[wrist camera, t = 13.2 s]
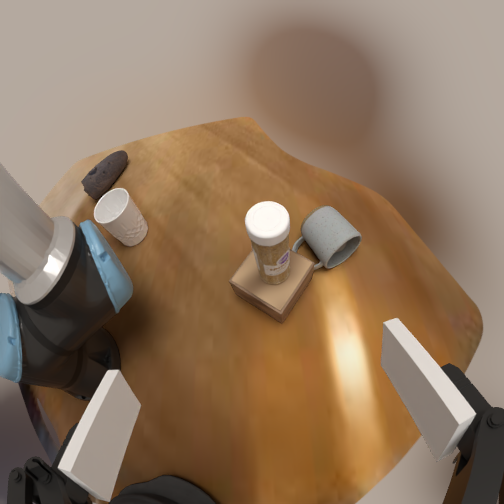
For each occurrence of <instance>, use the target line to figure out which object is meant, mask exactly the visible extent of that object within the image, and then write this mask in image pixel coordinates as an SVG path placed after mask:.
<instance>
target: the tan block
mask: <svg viewBox="0 0 504 504" xmlns="http://www.w3.org/2000/svg"><path fill="white" fill-rule="evenodd" d="M289 251H290V262H289V265H290V273H289V276H288V278H287V279H286V280H285V281H284V282H282V283H280V284H268V283H266V282H264V281H263V280H262V279H261V277H260V275H259V269H258V267H257V263H256V260H255V256H254V252H253V250H252V251H251V252H250V254H249V255H248V256H247V258H246V259H245V260H244V262H243V263H242V264H241V266H240V267H239V268H238V270H237V271H236V272H235V274H234V275H233V276H232V277H231V279H230V280H229V283H230V284H231V286H232V288H233V290H234V291H235V293H236V294H237V295H238V296H240V297H241V298H243V299H244V300H246V301H247V302H249V303H251V304H252V305H254V306H255V307H257V308H258V309H260V310H262V311H263V312H265V313H266V314H268V315H269V316H271V317H273V318H274V319H276V320H277V321H279V322H281V323H283V322H284V320H285V319H286V317H287V316H288V314H289V313H290V311H291V310H292V308H293V307H294V305H295V304H296V302H297V301H298V299H299V298H300V296H301V294H302V293H303V291H304V290H305V288H306V287H307V285H308V284H309V282H310V280H311V279H312V275H313V270H314V265H315V263H314V262H312V261H311V260H309V259H307V258H305V257H303V256H302V255H300V254H298V253H296V252H294V251H293V250H291V249H289Z"/></svg>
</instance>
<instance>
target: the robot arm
mask: <svg viewBox="0 0 504 504" xmlns="http://www.w3.org/2000/svg"><path fill="white" fill-rule="evenodd" d="M0 273H2V274H3V275H4V276H6V277H7V278H8V279H10V280H11V281H13V285H14V290H15V294H16V296H15V297H12V295H10V294H8V293H7V294H5V293H0V376H1V377H3V378H6V379H8V380H11V381H13V382H15V383H18V382H21V383H26V384H32V385H38V386H44V387H51V388H58V389H62V390H64V391H65V392H67V393H69V394H71V395H72V396H74V397H76V398H78V399H81V400H85V401H90V403H89V405H88V407H87V409H86V411H85V412H84V414H83V416H82V418H81V420H80V422H79V424H78V423H76V424H75V425H74V426H73V427H72V428H71V429H70V430H69V432H68V434H67V436H66V439H65V440H64V442H63V446H61V448H60V450H59V452H58V454H57V456H56V459H55V461H54V463H53V465H52V467H49V466H48V465H47V464H46V463H45V462H44V461H43V460H42V459H41V458H39V457H32V458H30V459H28V460H27V462H26V463H25V465H24V470H23V469H22V468H19V467H17V468H14V469H13V470H12V471H11V473H10V475H9V481H8V496H7V504H33V503H32V502H34V503H36V504H92V501H91V500H90V498H88V494H89V493H90V494H91V495H92V496H94V497H95V498H97V499H100V500H104V501H108V502H110V499H111V496H112V492H113V489H114V486H115V482H116V479H117V476H118V473H119V469H120V466H121V463H122V460H123V457H124V454H125V451H126V448H127V445H128V442H129V439H130V436H131V433H132V430H133V427H134V424H135V422H136V419H137V416H138V413H139V410H140V407H141V404H140V403H139V401H138V400H137V398H136V396H135V395H134V393H133V392H132V390H131V389H130V387H129V385H128V384H127V382H126V381H125V379H124V377H123V375H122V374H121V372H120V355H119V351H118V348H117V345H116V343H115V341H114V339H113V337H112V336H111V335H110V334H109V333H108V332H107V331H106V330H105V329H104V328H102V326H103V325H104V324H106V323H107V322H108V321H109V320H110V319H111V318H112V317H113V316H114V315H116V314H117V313H118V312H119V311H120V309H121V308H122V307H123V305H124V304H125V303H126V302H127V301H128V300H129V299H130V298H131V296H132V293H133V284H132V281H131V279H130V277H129V276H128V274H127V272H126V270H125V269H124V267H123V265H122V264H121V262H120V261H119V259H118V258H117V256H116V255H115V253H114V251H113V250H112V248H111V247H110V245H109V244H108V242H107V241H106V239H105V238H104V237H103V235H102V234H101V232H100V231H99V229H98V228H97V227H96V226H95V224H94V223H92V221H90V220H86V221H84V222H82V223H80V225H79V227H77V226H76V225H75V224H74V223H73V222H72V221H71V220H70V219H69V218H68V217H65V216H59V217H53V218H50V217H49V216H48V215H47V214H46V213H45V212H44V211H43V210H42V209H41V208H40V207H39V206H38V205H37V204H36V203H35V202H34V201H33V199H32V198H31V197H30V196H29V195H28V194H27V193H26V192H25V191H24V190H23V189H22V188H21V186H20V185H19V184H18V183H17V182H16V181H15V180H14V178H13V177H12V176H11V175H10V174H9V173H8V171H7V170H6V169H5V168H4V167H3V166H2V164H1V163H0ZM381 366H382V368H383V369H384V371H385V372H386V374H387V376H388V377H389V379H390V381H391V382H392V384H393V386H394V387H395V389H396V391H397V392H398V394H399V396H400V397H401V399H402V401H403V403H404V404H405V406H406V408H407V409H408V411H409V413H410V415H411V416H412V418H413V420H414V422H415V423H416V425H417V427H418V429H419V431H420V432H421V434H422V436H423V438H424V440H425V441H426V443H427V445H428V447H429V449H430V451H431V452H432V454H433V456H434V458H435V460H436V462H437V461H439V460H441V459H443V458H445V457H447V456H448V455H450V454H452V453H453V451H454V450H455V448H456V447H458V449H459V450H460V452H459V453H458V455H457V456H456V457H455V459H454V461H453V463H455V462H456V461H457V462H456V465H455V469H454V472H453V476H452V479H451V482H450V485H449V488H448V491H447V493H446V496H445V499H444V501H443V504H496V503H497V499H498V495H499V504H504V409H502V408H499V407H494V408H493V407H491V406H490V405H489V404H488V403H487V401H486V400H485V399H484V397H483V396H482V395H481V394H480V393H479V391H478V390H477V389H476V388H475V386H474V385H473V384H471V382H470V380H469V379H468V378H466V376H465V375H464V373H463V372H462V371H461V370H460V369H459V368H458V367H456V366H454V365H452V364H450V363H448V364H446V365H444V366H442V367H439V366H438V364H437V363H436V362H435V361H434V360H433V358H432V357H431V356H430V355H429V354H428V352H427V351H426V350H425V349H424V348H423V347H422V345H421V344H420V343H419V342H418V341H417V340H416V338H415V337H414V336H413V335H412V334H411V333H410V332H409V330H408V329H407V328H406V327H405V326H404V325H403V324H402V323H401V322H400V320H399V319H398V318H395V319H392V320H389V321H386V322H383V341H382V356H381Z"/></svg>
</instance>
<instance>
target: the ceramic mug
mask: <svg viewBox="0 0 504 504" xmlns="http://www.w3.org/2000/svg"><path fill="white" fill-rule="evenodd" d="M301 233H302V237H300V238H299V239H298V240H297V241H296V242H295V244H294V246H293V248H292V250H293V251H294V252H296V253H297V249H298V247H299V246H300V245H301V243H302V242H303V241H306V242H307V243H308V245H309V246H310V248H312V250H313V251H314V253H315V254H316V256H317V257H318V258H319V260H320V262H319V263H318V264H316V265H314V270H316V269H318V268H320V267H322V266H324V267H326V268H333V267H335V266H337V265H339V264H340V263H342V262H343V261H345V260H346V259H347V258H348V257H349V256H350V255H351V254H352V253H353V252H354V251H355V250H356V249H357V247H358V246H359V244H360V242H361V238H362V237H361V234H360V233H359V232H358V231H357V230H356V229H355V228H354V227H353V226H352V225H351V224H350V223H349V222H348V221H347V220H346V219H345V218H344V217H343V216H342V215H341V214H340V213H339V212H338V211H336V210H335V209H334V208H332V207H330V206H328V205H324V206H320V207H318V208H316V209H314V210H313V211H312V212H310V213H309V214H308V215H307V216H306V218H305V219H304V221H303V223H302V225H301Z"/></svg>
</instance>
